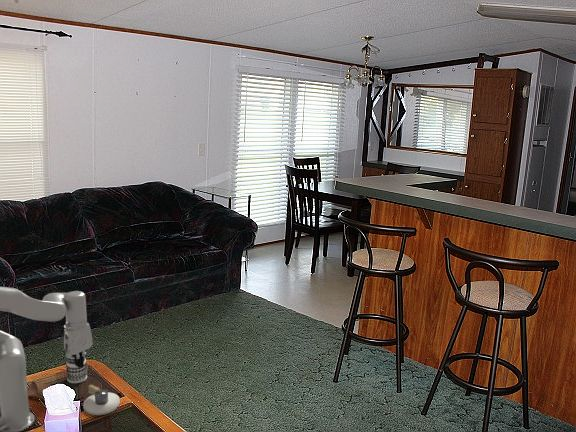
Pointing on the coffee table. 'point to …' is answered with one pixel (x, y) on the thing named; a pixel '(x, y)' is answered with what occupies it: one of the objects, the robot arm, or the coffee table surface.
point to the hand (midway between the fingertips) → (79, 365)
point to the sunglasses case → (37, 390)
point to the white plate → (103, 409)
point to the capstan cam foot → (98, 394)
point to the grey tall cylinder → (75, 370)
